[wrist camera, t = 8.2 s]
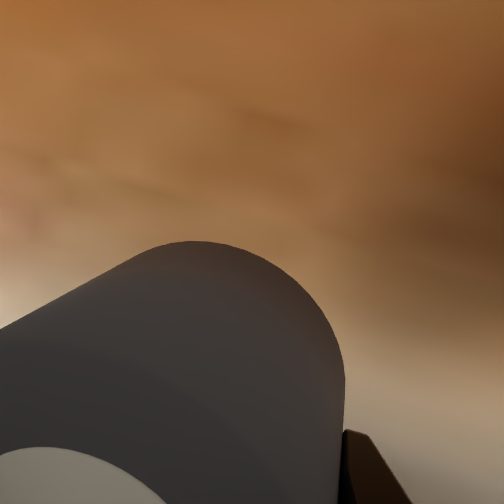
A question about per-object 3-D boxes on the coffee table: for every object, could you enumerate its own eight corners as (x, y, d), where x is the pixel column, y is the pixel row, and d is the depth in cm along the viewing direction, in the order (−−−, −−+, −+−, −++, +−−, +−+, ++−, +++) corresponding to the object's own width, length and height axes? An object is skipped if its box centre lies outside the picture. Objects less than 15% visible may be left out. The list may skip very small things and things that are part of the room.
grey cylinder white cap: (312, 524, 10) (274, 834, 5) (75, 447, 11) (-118, 660, 6) (376, 279, 8) (393, 440, 4) (91, 214, 9) (-149, 286, 5)
